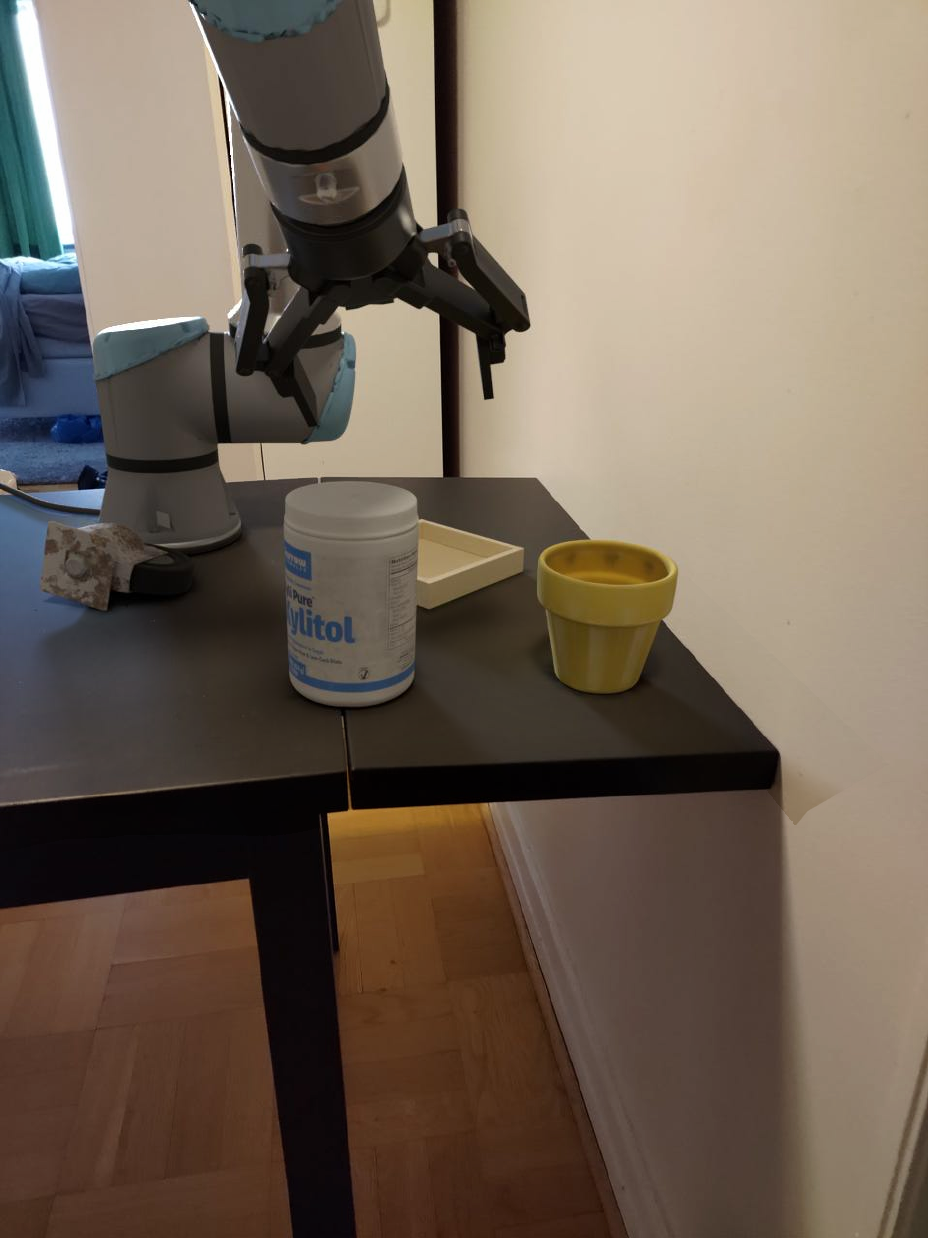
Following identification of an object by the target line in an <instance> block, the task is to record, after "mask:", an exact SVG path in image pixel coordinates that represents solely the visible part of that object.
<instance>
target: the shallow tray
mask: <svg viewBox="0 0 928 1238" xmlns="http://www.w3.org/2000/svg"><path fill="white" fill-rule="evenodd" d="M418 525H419V531H418V568H417V604H416V606H419V607H422V608H424V609H427V610H431V609H433V608H437V607H438V606H441V605H443V604H446V603H449V602H452V601H454V600H456V599H458V598H461V597H463V596H466V595H468V594H471V593H474V592H476V591H478V590H481V589H483V588H485V587H488V586H491V585H493V584H496V583H498V582H500V581H503V580H506V579H508V578H510V577H513V576H515V575H517V574H521V573H523V572H524V561H525V548H524V547H521V546H517V545H513V544H510V543H506V542H503V541H500V540H496V539H493V538H489V537H485V536H482V535H479V534H475V533H472V532H469V531H464V530H461V529H458V528H454V527H450V526H448V525H444V524H440V523H437V522H434V521H429V520H426V519H423V518H421V519H420V518H419V522H418Z"/></svg>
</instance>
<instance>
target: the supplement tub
mask: <svg viewBox="0 0 928 1238" xmlns="http://www.w3.org/2000/svg"><path fill="white" fill-rule="evenodd" d="M284 512H285V513H284V516H283V520H284V521H283V549H284V551H283V553H284V554H283V555H284V576H285V577H284V578H285V579H284V580H285V604H286V626H287V627H286V628H287V651H288V652H287V653H288V670H289V671H288V674H289V675H288V676H289V679H290V683H291V684H292V687H294V689H295V690H296V691H297V692H298V693H299V694H300V695H302V696H303V697H305V698H306V699H308V700H311V701H313V702H315V703H318V704H322V705H325V706H332V707H341V708H343V707H344V708H346V707H347V708H360V707H361V708H362V707H370V706H375V705H380V704H383V703H386V702H389V701H391V700H393V699H395V698H397V697H399V696H400V695H402V694H403V693H405V692H406V691H407V689H409V687H410V686H411V685H412V683H413V680H414V678H415V664H416V636H417V635H416V633H417V632H416V631H417V605H416V604H417V568H418V531H419V525H418V522H419V520H420V518H419V514H418V498H417V497H416V495H414V494H413V493H412V492H411V491H409V490H407V489H406V488H402V487H400V486H395V485H392V484H387V483H379V482H374V481H359V480H358V481H357V480H341V481H340V480H339V481H323V482H316V483H311V484H308V485H307V484H306V485H303V486H300V487H296V488H295V489H293V490H291V491H290V492H289V493H287V494H286V496H285V498H284Z"/></svg>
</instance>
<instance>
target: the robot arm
mask: <svg viewBox="0 0 928 1238" xmlns="http://www.w3.org/2000/svg"><path fill="white" fill-rule="evenodd" d="M187 1H188V3H189V5H190V7H191V10H192V12H193V15H194V17H195V19H196V23H197V25H198V27H199V30H200V32H201V34H202V37H203V40H204V42H205V45H206V47H207V49H208V51H209V54H210V56H211V59H212V61H213V64H214V66H215V69H216V71H217V74H218V77H219V79H220V81H221V83H222V86H223V88H224V91H225V93H226V101H227V114H228V127H229V141H230V155H231V157H230V158H231V168H232V169H231V171H232V183H233V196H234V197H233V199H234V210H235V224H236V225H235V227H236V237H237V238H236V239H237V252H238V266H239V277H240V279H239V280H240V291H241V297H240V301H239V302H238V303H237V304H236V305H235V306H234V307H233V309H231V310H230V312H229V313H228V314H227V322H228V331H210V330H211V329H210V324H209V323H208V320H207V319H206V318H205V317H203V316H188V317H172V318H171V317H170V318H163V319H157V320H156V319H154V320H147V321H140V322H139V321H138V322H134V323H133V322H132V323H126V324H122V325H116V326H112V327H108V328H105V329H103V330H101V331H99V332H98V333H97V335H96V336H95V337H94V339H93V342H92V358H93V370H94V374H93V375H92V378H93V379H92V380H93V381H94V382H95V387H96V395H97V400H98V401H97V402H98V407H99V415H100V422H101V429H102V437H103V444H104V450H105V456H106V457H105V458H106V465H107V477H106V481H105V482H106V483H105V487H104V492H103V497H102V502H101V506H100V508H95V507H94V508H92V507H83V506H74V505H67V504H62V503H57V502H53V501H52V502H51V501H47V500H44V499H40V498H38V497H36V496H33V495H31V494H29V493H27V492H25V491H22V490H19V489H17V488H14V487H13V486H11V485H8V484H6V483H4V482H1V481H0V490H1V491H4V492H6V493H8V494H11V495H12V496H15V497H17V498H19V499H22V500H24V501H26V502H28V503H30V504H32V505H35V506H37V507H39V508H43V509H47V510H50V511H56V512H60V513H61V512H62V513H66V514H67V513H68V514H75V515H83V516H93V517H98V521H97V522H98V523H97V524H99V523H114V524H119V525H122V526H125V527H127V528H129V529H130V530H132V531H133V532H134V533H135V534H137V535H138V537H139V538H140V539H141V540H142V541H143V542H144V543H149V544H154V545H159V546H163V547H167V548H170V549H173V550H176V551H179V552H181V553H183V554H185V555H187V556H189V555H195V554H201V553H205V552H211V551H214V550H217V549H220V548H222V547H227V546H228V545H230V544H232V543H233V542H235V541H236V540H238V539H239V538H240V537H241V534H242V523H241V521H242V520H241V516H240V513H239V509H238V507H237V505H236V503H235V500H234V498H233V496H232V493H231V491H230V489H229V485H228V484H227V481H226V479H225V476H224V475H223V472H222V470H221V467H220V456H219V445H220V444H221V445H222V444H300V445H309V443H323V442H333V441H337V440H338V439H340V438H341V437H342V436H343V435H344V434H345V432H346V430H347V429H348V425H349V423H350V418H351V415H352V409H353V404H354V396H355V387H356V362H357V346H356V340H355V337H354V336H353V335H352V334H350V333H348V332H347V331H342V317H341V315H340V314H339V312H337V310H338V308H339V307H340V308H345V311H351V310H352V311H353V310H358V309H361V308H364V307H366V306H370V305H371V306H372V305H374V306H376V305H378V306H381V305H382V306H384V305H390V304H394V303H395V299H398V300H399V301H401V302H403V303H405V304H407V305H409V306H411V307H413V308H415V309H416V310H422V309H423V308H426V309H428V310H429V311H432V312H434V313H435V314H437V315H439V316H441V317H443V318H445V319H447V320H448V321H450V322H452V323H454V324H456V325H458V326H460V327H461V328H463V329H465V330H467V331H469V332H471V333H473V334H474V335H475V343H476V350H477V359H478V367H479V375H480V381H481V388H482V395H483V400H484V401H489V400H493V399H495V395H494V385H493V375H492V374H493V373H492V366H493V365H498V364H504V363H505V360H506V359H507V357H506V356H507V355H506V347H507V342H506V335H507V333H509V332H511V331H514V332H516V333H524V332H527V331H528V330H529V329H530V328H531V325H532V323H531V320H530V319H531V318H530V313H529V307H528V302H527V301H528V300H527V296H526V293H525V292H524V291H523V290H522V289H521V287H519V285H518V284H517V283H516V282H515V280H514V279H513V278H512V277H511V276H510V275H509V274H508V273H507V272H506V270H505V269H504V268H503V266H502V265H500V263H499V262H498V261H497V260H496V259H495V257H494V256H493V255H492V254H491V253H490V252H489V251H488V250H487V249H486V247H485V246H484V245H483V244H482V242H481V241H479V239H478V238H477V237H476V236H475V235H474V233H473V230H472V226H471V223H470V218H469V215H468V212H467V211H466V210H465V209H463V208H454V209H451V210H449V212H448V214H447V223H444V224H440V225H435V226H431V227H428V228H424V227H422V225H420V224H419V223H418V221H417V220H416V218H415V213H414V209H413V203H412V198H411V193H410V187H409V182H408V177H407V171H406V166H405V164H404V162H403V150H402V145H401V138H400V133H399V129H398V124H397V118H396V113H395V107H394V102H393V101H394V100H393V95H392V91H391V87H390V85H389V80H388V77H387V72H386V69H385V64H384V59H383V51H382V47H381V46H382V45H381V40H380V35H379V28H378V23H377V16H376V9H375V4H374V0H187ZM429 254H437V255H439V256H440V257H441V258H442V259H443V260H444V261H446V263H447V266H448V267H451V268H453V267H456V268H457V270H458V272H459V274H460V275H461V277H462V278H463V279H464V280H465V281H466V283H468V284H466V283H464V282H463V281H461V280H460V279H458V278H456V277H454V276H453V275H450V274H449V273H447V272H446V271H444V270H442V269H441V268H439V267H437V266H436V265H434V264H433V263H432V262H431V260H430V258H429ZM469 285H470V286H469Z"/></svg>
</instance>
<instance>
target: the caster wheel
mask: <svg viewBox="0 0 928 1238" xmlns="http://www.w3.org/2000/svg"><path fill="white" fill-rule="evenodd" d="M45 536H46V537H45V544H44V551H43V559H42V564H41V565H42V566H41V571H40V572H41V573H40V579H39V580H40V581H39V590H40V591H41V592H44V593H47V594H50V595H53V596H56V597H60V598H63V599H65V600H67V601H68V600H69V601H72V602H73V603H74V602H75V603H78V604H81V605H83V606H86V607H89V608H93V609H96V610H99V611H102V612H105V611H108V605H109V601H110V600H109V599H110V593H111V590H112V591H115V592H118V593H119V592H120V593H125V594H131V593H137V594H139V593H140V594H144V595H150V596H151V595H153V596H176V595H181V594H184V593H186V592H188V591H189V590H190V589H191V586H192V582H193V577H194V572H195V567H196V564H195V561H194V560H193V559H192V558H191V557H190V556H189V555H185V554H183V553H181V552H179V551H176V550H173V549H170V548H167V547H163V546H159V545H154V544H149V543H144V542H143V541H142V540H141V539H140V538H139V537H138V535H137V534H135V533H134V532H133V531H132V530H130V529H129V528H127V527H125V526H122V525H119V524H114V523H99V524H98V523H93V524H89V525H85V526H81V527H77V528H76V527H73V526H70V525H67V524H64V523H60V522H58V521H55V520H48V521H47V529H46V535H45Z"/></svg>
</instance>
